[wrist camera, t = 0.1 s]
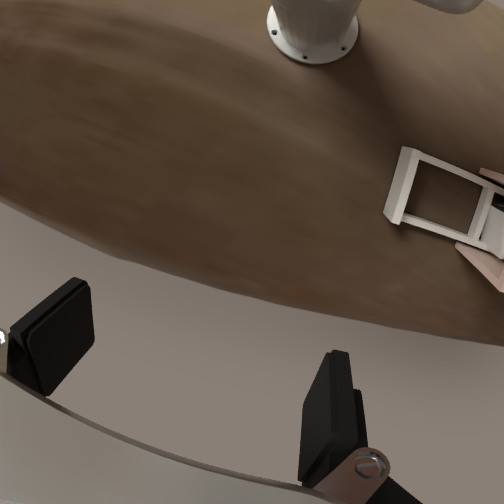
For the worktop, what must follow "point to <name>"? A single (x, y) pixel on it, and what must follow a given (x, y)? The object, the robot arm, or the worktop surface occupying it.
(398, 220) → the rack
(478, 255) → the cubby
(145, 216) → the worktop surface
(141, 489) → the robot arm
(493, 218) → the medicine bottle
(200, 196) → the worktop surface
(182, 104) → the worktop surface
